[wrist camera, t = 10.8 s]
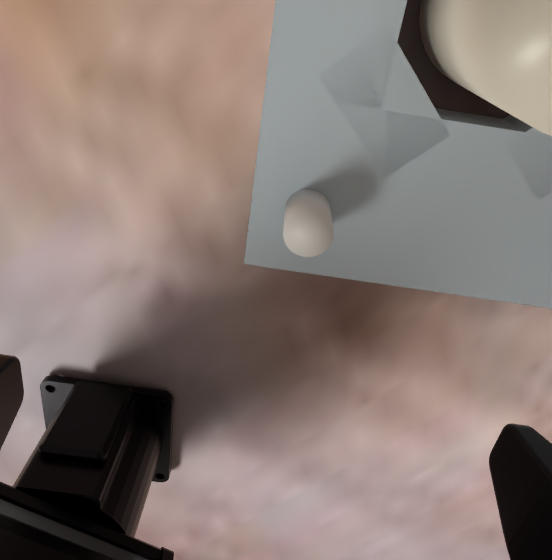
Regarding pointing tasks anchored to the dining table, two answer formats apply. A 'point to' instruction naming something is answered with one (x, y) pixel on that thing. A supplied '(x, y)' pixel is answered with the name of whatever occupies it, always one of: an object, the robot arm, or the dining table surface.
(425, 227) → the jig
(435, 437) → the dining table surface
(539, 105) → the bushing
